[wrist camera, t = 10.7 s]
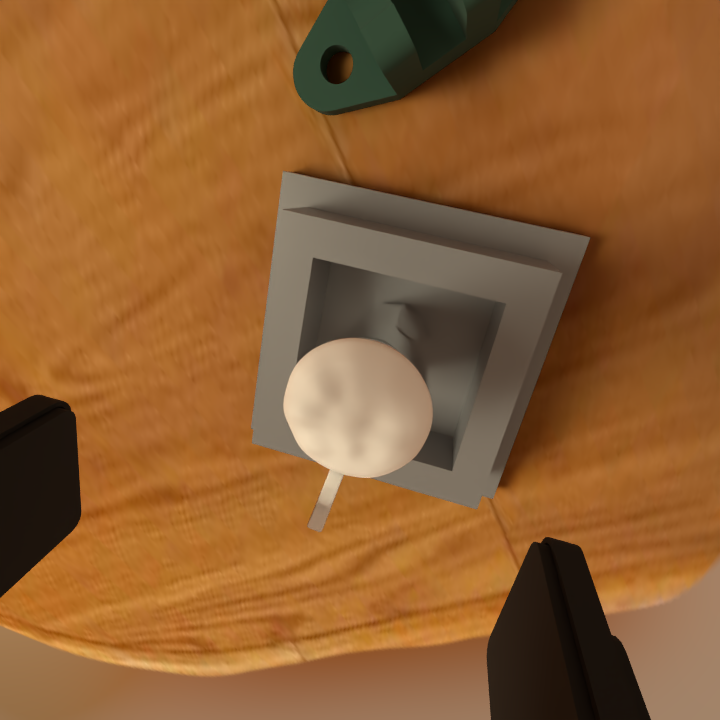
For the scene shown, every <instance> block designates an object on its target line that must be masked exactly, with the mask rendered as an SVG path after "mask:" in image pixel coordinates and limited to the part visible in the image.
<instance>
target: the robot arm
mask: <svg viewBox="0 0 720 720" xmlns="http://www.w3.org/2000/svg"><path fill="white" fill-rule="evenodd" d="M80 517H81V499H80V482H79V465H78V448H77V430H76V417H75V414H74V413H73V412H72V411H71V408H70V406H69V405H68V403H66V402H64V401H60V400H57V399H53V398H50V397H46V396H43V395H34V396H31V397H29V398H27V399H25V400H23V401H21V402H19V403H17V404H15V405H13V406H11V407H9V408H8V409H6V410H4V411H2V412H0V598H1V597H2V596H3V595H4V594H5V593H6V592H7V591H8V590H9V589H10V588H11V587H12V586H13V585H15V584H16V583H17V582H18V581H19V580H20V579H21V578H22V577H23V576H24V575H25V574H26V573H27V572H29V571H30V570H31V569H32V568H33V567H34V566H35V565H36V564H37V563H38V562H39V561H40V560H41V559H43V558H44V557H45V556H46V555H47V554H48V553H49V552H50V551H51V550H52V549H53V548H54V547H56V546H57V545H58V544H59V543H60V542H61V541H62V540H63V539H64V538H65V537H66V536H67V535H68V534H70V533H71V532H72V531H73V530H74V528H75V527H76V526H77V524H78V522H79V520H80ZM487 667H488V668H487V669H488V682H489V696H490V712H491V720H651V719H650V716H649V713H648V711H647V708H646V705H645V702H644V700H643V697H642V694H641V691H640V689H639V686H638V683H637V681H636V678H635V675H634V673H633V669H632V667H631V664H630V661H629V659H628V656H627V653H626V651H625V649H624V647H623V645H622V643H621V642H620V641H619V639H618V638H617V637H616V636H613V635H611V632H610V629H609V627H608V624H607V621H606V618H605V615H604V612H603V609H602V606H601V603H600V601H599V598H598V595H597V592H596V589H595V586H594V583H593V580H592V577H591V574H590V572H589V569H588V566H587V563H586V560H585V557H584V554H583V552H582V550H581V548H580V547H579V546H578V545H575V544H571V543H568V542H564V541H561V540H557V539H553V538H550V537H546V538H544V539H543V541H542V542H541V543H538V542H533V543H532V544H531V546H530V548H529V550H528V552H527V555H526V557H525V559H524V561H523V564H522V566H521V568H520V570H519V573H518V575H517V577H516V579H515V582H514V584H513V586H512V588H511V591H510V593H509V595H508V597H507V600H506V602H505V604H504V606H503V609H502V611H501V613H500V615H499V618H498V620H497V622H496V624H495V627H494V629H493V631H492V633H491V636H490V638H489V642H488V648H487Z"/></svg>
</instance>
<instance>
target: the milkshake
mask: <svg viewBox="0 0 720 720" xmlns="http://www.w3.org/2000/svg"><path fill="white" fill-rule="evenodd" d="M283 408H284V414H285V417H286V420H287V422H288V424H289V427H290V429H291V431H292V433H293V436H294V438H295V440H296V442H297V443H298V445H299V447H300V448H301V449H302V450H303V451H304V452H305V453H306V454H307V455H308V456H309V457H310V458H312V459H313V460H315V461H316V462H318V463H319V464H321V465H323V466H324V467H326V468H328V469H330V471H329V473H328V476H327V478H326V480H325V483H324V485H323V488H322V490H321V492H320V495H319V497H318V500H317V502H316V505H315V507H314V509H313V512H312V514H311V517H310V519H309V522H308V524H307V527H308V528H310V529H313V530H315V531H318V532H321V531H322V529H323V527H324V525H325V522H326V520H327V517H328V514H329V512H330V509H331V507H332V504H333V501H334V499H335V496H336V494H337V491H338V489H339V486H340V483H341V481H342V478H343V476H344V475H348V476H354V477H361V478H373V477H379V476H382V475H386V474H388V473H391V472H393V471H395V470H397V469H399V468H401V467H403V466H404V465H406V464H407V463H409V462H410V461H411V460H412V459H413V458H414V457H415V456H416V455H417V454H418V453H419V451H420V450H421V448H422V447H423V445H424V443H425V441H426V439H427V437H428V435H429V432H430V429H431V425H432V418H433V408H432V400H431V390H430V379H429V336H428V333H427V330H426V327H425V324H424V321H423V317H422V316H420V315H419V314H418V313H416V312H415V311H413V310H412V309H411V308H409V307H408V306H407V305H405V304H400V303H381V304H380V305H378V306H377V307H375V308H374V309H373V310H371V311H370V312H368V313H367V314H366V315H364V316H363V317H361V318H360V319H359V320H358V321H356V322H355V323H354V324H353V325H351V326H350V327H349V328H347V329H345V330H344V331H342V332H340V333H339V334H337V335H335V336H334V337H332V338H331V339H329V340H327V341H326V342H324V343H323V344H321V345H320V346H318V347H316V348H314V349H313V350H311V351H310V352H308V353H307V354H306V355H305V356H304V357H303V358H302V359H301V360H300V361H299V362H298V363H297V364H296V366H295V367H294V369H293V371H292V373H291V375H290V378H289V381H288V384H287V387H286V391H285V395H284V403H283Z"/></svg>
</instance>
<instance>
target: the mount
mask: <svg viewBox="0 0 720 720" xmlns="http://www.w3.org/2000/svg"><path fill="white" fill-rule="evenodd" d="M516 2H517V0H328V1H327V3H326V4H325V6H324V8H323V10H322V11H321V13H320V15H319V17H318V18H317V20H316V22H315V24H314V25H313V27H312V29H311V31H310V32H309V34H308V36H307V38H306V39H305V41H304V43H303V45H302V46H301V48H300V50H299V52H298V54H297V56H296V59H295V62H294V68H293V78H294V84H295V87H296V90H297V92H298V94H299V96H300V98H301V99H302V100H303V101H304V102H305V103H306V104H307V105H308V106H309V107H311V108H313V109H315V110H316V111H318V112H320V113H322V114H326V115H338V114H342V113H346V112H350V111H354V110H358V109H362V108H367V107H371V106H375V105H379V104H383V103H387V102H391V101H395V100H399V99H401V98H403V97H404V96H405V95H407V94H408V93H410V92H411V91H412V90H414V89H415V88H417V87H418V86H419V85H421V84H422V83H424V82H425V81H426V80H428V79H429V78H431V77H432V76H433V75H435V74H436V73H438V72H439V71H440V70H442V69H443V68H444V67H446V66H447V65H449V64H450V63H451V62H453V61H454V60H456V59H457V58H458V57H460V56H461V55H463V54H464V53H465V52H467V51H468V50H470V49H471V48H472V47H474V46H475V45H477V44H478V43H479V42H481V41H482V40H483V39H485V38H486V37H488V36H489V35H490V34H492V33H493V32H495V31H496V29H497V28H498V26H499V25H500V24H501V22H502V21H503V20H504V18H505V17H506V15H507V14H508V13H509V11H510V10H511V9H512V7H513V6H514V4H515V3H516ZM339 52H348V53H350V54H351V55H352V58H353V70H352V73H351V75H350V77H349V78H348V79H347V80H346V81H345V82H343V83H341V84H332V83H330V82H329V80H328V77H327V65H328V62H329V60H330V59H331V58H332V56H333V55H335V54H336V53H339Z"/></svg>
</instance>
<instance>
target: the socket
mask: <svg viewBox="0 0 720 720" xmlns="http://www.w3.org/2000/svg"><path fill="white" fill-rule="evenodd" d="M589 240H590V237H587V236H584V235H580V234H575V233H571V232H566V231H561V230H557V229H552V228H548V227H543V226H538V225H534V224H529V223H524V222H520V221H515V220H511V219H506V218H501V217H497V216H492V215H487V214H483V213H478V212H474V211H469V210H464V209H460V208H455V207H451V206H446V205H441V204H437V203H432V202H427V201H423V200H418V199H414V198H409V197H404V196H400V195H395V194H390V193H386V192H381V191H377V190H372V189H367V188H363V187H358V186H353V185H349V184H344V183H340V182H335V181H330V180H326V179H321V178H316V177H312V176H307V175H303V174H298V173H293V172H287V171H283V176H282V184H281V192H280V200H279V208H278V216H277V224H276V232H275V240H274V248H273V256H272V264H271V272H270V280H269V288H268V296H267V304H266V313H265V321H264V329H263V337H262V345H261V353H260V361H259V369H258V377H257V385H256V393H255V401H254V409H253V417H252V425H251V429H254V431H253V438H252V443H253V444H257V445H260V446H263V447H267V448H270V449H274V450H277V451H280V452H284V453H287V454H291V455H294V456H297V457H301V458H304V459H308V460H311V461H314V462H316V461H315V460H313V459H312V458H310V457H309V456H308V455H307V454H306V453H305V452H304V451H303V450H302V449H301V448H300V447H299V445H298V443H297V442H296V440H295V438H294V436H293V433H292V431H291V429H290V427H289V424H288V422H287V420H286V417H285V414H284V408H283V403H284V395H285V391H286V387H287V384H288V381H289V378H290V375H291V373H292V371H293V369H294V367H295V366H296V364H297V363H298V362H299V361H300V360H301V359H302V358H303V357H304V356H305V355H306V354H307V353H308V352H310V351H311V350H313V349H314V348H316V347H318V346H320V345H321V344H323V343H324V342H326V341H327V340H329V339H331V338H332V337H334V336H335V335H337V334H339V333H340V332H342V331H344V330H345V329H347V328H349V327H350V326H351V325H353V324H354V323H355V322H356V321H358V320H359V319H360V318H361V317H363V316H364V315H366V314H367V313H368V312H370V311H371V310H373V309H374V308H375V307H377V306H378V305H380V304H381V303H400V304H405V305H407V306H408V307H409V308H411V309H412V310H413V311H415V312H416V313H418V314H419V315H420V316H422V317H423V321H424V324H425V327H426V330H427V333H428V336H429V379H430V390H431V400H432V408H433V418H432V425H431V429H430V432H429V435H428V437H427V439H426V441H425V443H424V445H423V447H422V448H421V450H420V451H419V453H418V454H417V455H416V456H415V457H414V458H413V459H412V460H411V461H410V462H409V463H407V464H406V465H404V466H403V467H401V468H399V469H397V470H395V471H393V472H391V473H388V474H386V475H382V476H379V477H373V478H372V479H375V480H379V481H382V482H386V483H389V484H392V485H396V486H399V487H403V488H406V489H409V490H413V491H416V492H420V493H423V494H426V495H430V496H433V497H437V498H440V499H443V500H447V501H450V502H454V503H457V504H460V505H464V506H467V507H471V508H474V509H477V508H478V505H479V503H480V500H481V497H482V496H485V497H488V498H492V499H493V497H494V495H495V492H496V489H497V487H498V484H499V481H500V479H501V476H502V473H503V471H504V468H505V465H506V463H507V460H508V457H509V454H510V452H511V449H512V446H513V444H514V441H515V438H516V436H517V433H518V430H519V428H520V425H521V422H522V420H523V417H524V414H525V412H526V409H527V406H528V404H529V401H530V398H531V396H532V393H533V390H534V387H535V385H536V382H537V379H538V377H539V374H540V371H541V369H542V366H543V363H544V361H545V358H546V355H547V353H548V350H549V347H550V345H551V342H552V339H553V337H554V334H555V331H556V329H557V326H558V323H559V321H560V318H561V315H562V312H563V310H564V307H565V304H566V302H567V299H568V296H569V294H570V291H571V288H572V286H573V283H574V280H575V278H576V275H577V272H578V270H579V267H580V264H581V262H582V259H583V256H584V254H585V251H586V248H587V245H588V243H589Z"/></svg>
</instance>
